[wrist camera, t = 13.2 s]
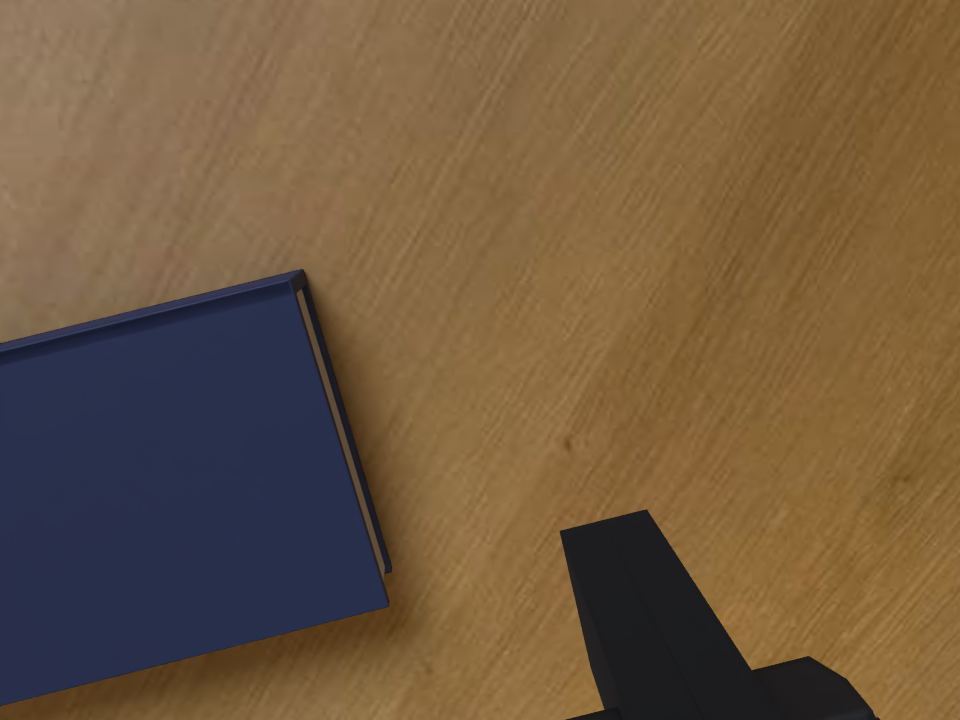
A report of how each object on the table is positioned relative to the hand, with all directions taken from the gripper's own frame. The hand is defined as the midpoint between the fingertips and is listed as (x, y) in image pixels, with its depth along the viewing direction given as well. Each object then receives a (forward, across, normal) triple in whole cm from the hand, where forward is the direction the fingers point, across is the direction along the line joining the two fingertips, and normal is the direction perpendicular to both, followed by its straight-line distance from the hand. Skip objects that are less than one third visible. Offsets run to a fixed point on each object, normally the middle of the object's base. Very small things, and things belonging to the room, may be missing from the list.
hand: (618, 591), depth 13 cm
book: (+17, -19, -2) cm, 26 cm away
